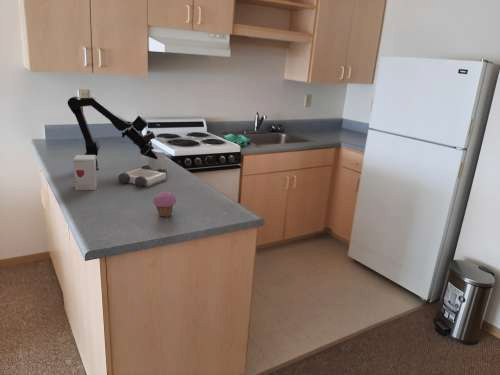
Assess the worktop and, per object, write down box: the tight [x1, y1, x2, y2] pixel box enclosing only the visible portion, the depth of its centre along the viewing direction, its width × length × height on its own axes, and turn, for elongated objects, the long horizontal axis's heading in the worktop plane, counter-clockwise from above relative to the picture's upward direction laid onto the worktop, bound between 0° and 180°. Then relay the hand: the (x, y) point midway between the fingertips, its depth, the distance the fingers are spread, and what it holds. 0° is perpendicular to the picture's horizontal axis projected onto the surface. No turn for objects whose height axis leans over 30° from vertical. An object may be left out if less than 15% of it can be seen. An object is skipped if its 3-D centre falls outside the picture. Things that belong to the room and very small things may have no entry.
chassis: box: [118, 164, 168, 188], centre depth 206 cm, size 20×17×5 cm
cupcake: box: [152, 191, 177, 217], centre depth 162 cm, size 9×9×10 cm
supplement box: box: [73, 154, 98, 191], centre depth 188 cm, size 9×9×15 cm
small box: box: [148, 148, 166, 171], centre depth 225 cm, size 8×6×10 cm
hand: (157, 156), depth 225 cm, fingers open, 9 cm apart
